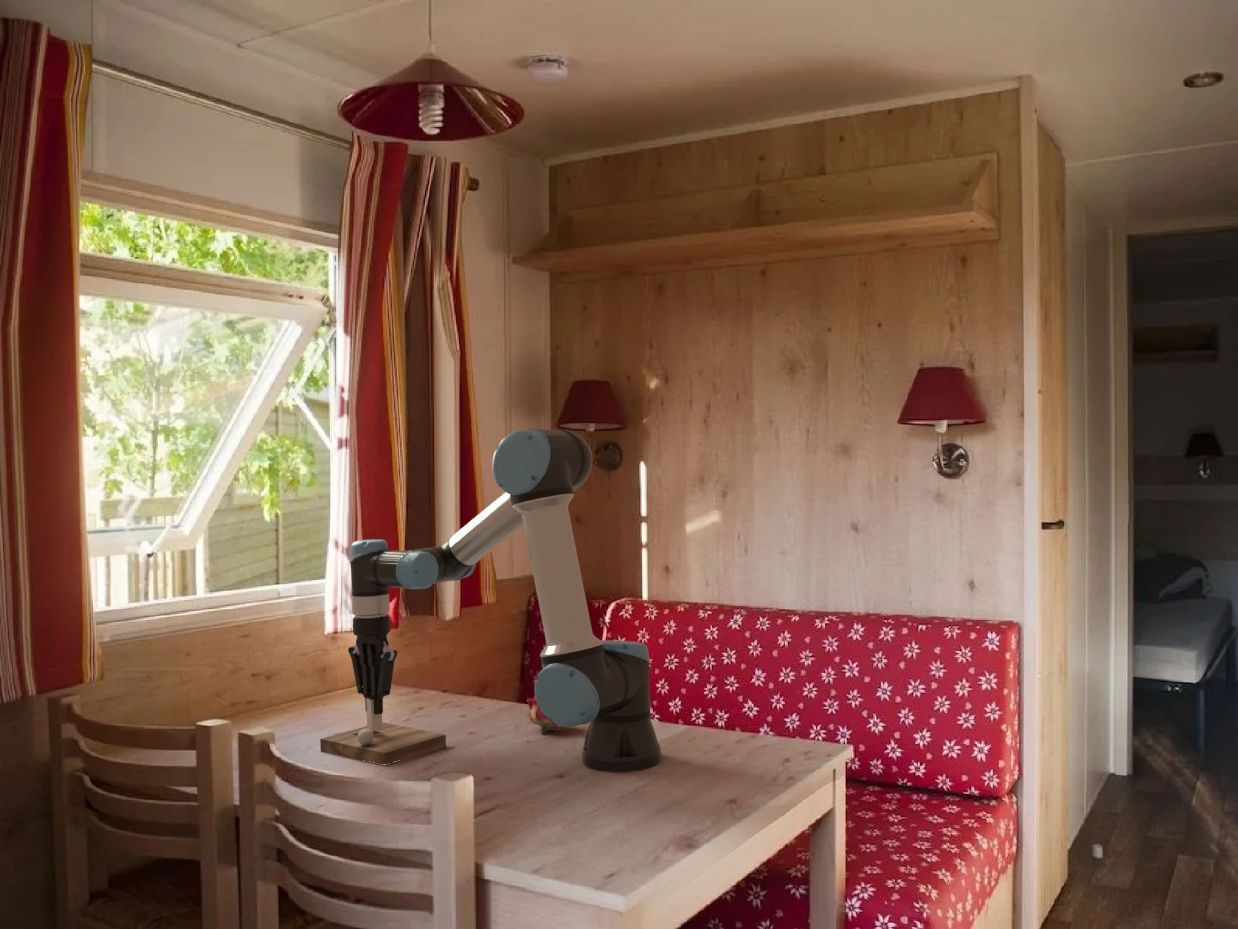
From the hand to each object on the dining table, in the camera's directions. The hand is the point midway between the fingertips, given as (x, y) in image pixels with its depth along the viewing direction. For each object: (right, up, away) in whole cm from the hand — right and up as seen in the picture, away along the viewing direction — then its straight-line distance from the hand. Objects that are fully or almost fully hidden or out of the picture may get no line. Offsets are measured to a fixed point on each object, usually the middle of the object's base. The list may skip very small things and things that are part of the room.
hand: (374, 729), depth 228 cm
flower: (+35, -3, +10) cm, 36 cm away
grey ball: (0, 0, -7) cm, 8 cm away
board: (+2, -4, -1) cm, 4 cm away
